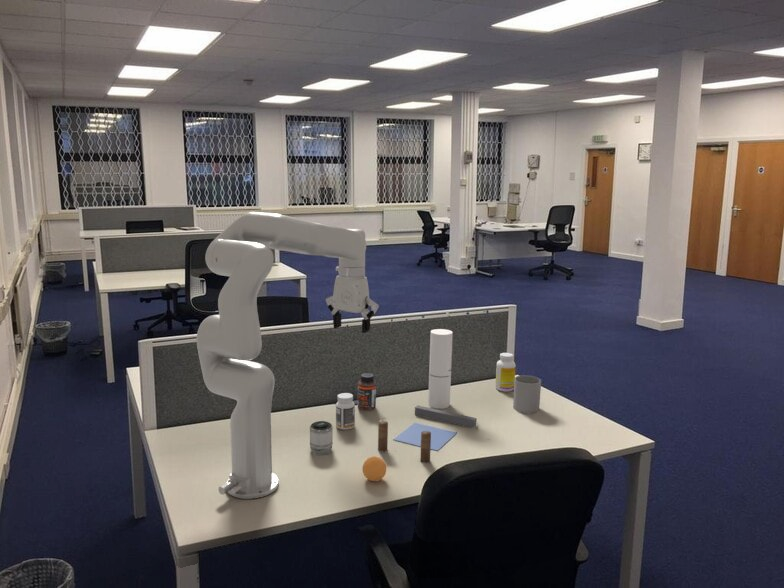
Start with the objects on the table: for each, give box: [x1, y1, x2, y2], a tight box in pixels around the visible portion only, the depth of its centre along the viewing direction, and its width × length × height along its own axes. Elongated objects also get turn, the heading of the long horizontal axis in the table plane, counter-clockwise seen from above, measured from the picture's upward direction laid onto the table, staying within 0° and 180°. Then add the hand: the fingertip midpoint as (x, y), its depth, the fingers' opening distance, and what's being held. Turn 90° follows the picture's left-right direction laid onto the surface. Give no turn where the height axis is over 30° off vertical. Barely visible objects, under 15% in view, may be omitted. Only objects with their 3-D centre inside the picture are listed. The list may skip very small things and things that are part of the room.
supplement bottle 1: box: [357, 372, 377, 412], centre depth 204 cm, size 6×6×11 cm
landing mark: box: [393, 422, 458, 452], centre depth 185 cm, size 14×14×1 cm
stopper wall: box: [414, 405, 478, 429], centre depth 196 cm, size 2×20×2 cm, turn 62°
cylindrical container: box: [427, 328, 454, 410], centre depth 207 cm, size 7×7×25 cm
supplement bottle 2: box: [495, 352, 517, 393], centre depth 224 cm, size 7×7×13 cm
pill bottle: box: [335, 392, 356, 431], centre depth 190 cm, size 6×6×10 cm
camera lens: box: [309, 420, 334, 456], centre depth 174 cm, size 6×6×8 cm
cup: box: [512, 374, 542, 414], centre depth 207 cm, size 8×8×10 cm
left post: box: [377, 420, 389, 453], centre depth 175 cm, size 3×3×8 cm
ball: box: [362, 456, 387, 482], centre depth 158 cm, size 6×6×6 cm
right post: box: [420, 431, 431, 464], centre depth 169 cm, size 3×3×8 cm
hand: (351, 329), depth 185 cm, fingers open, 9 cm apart
